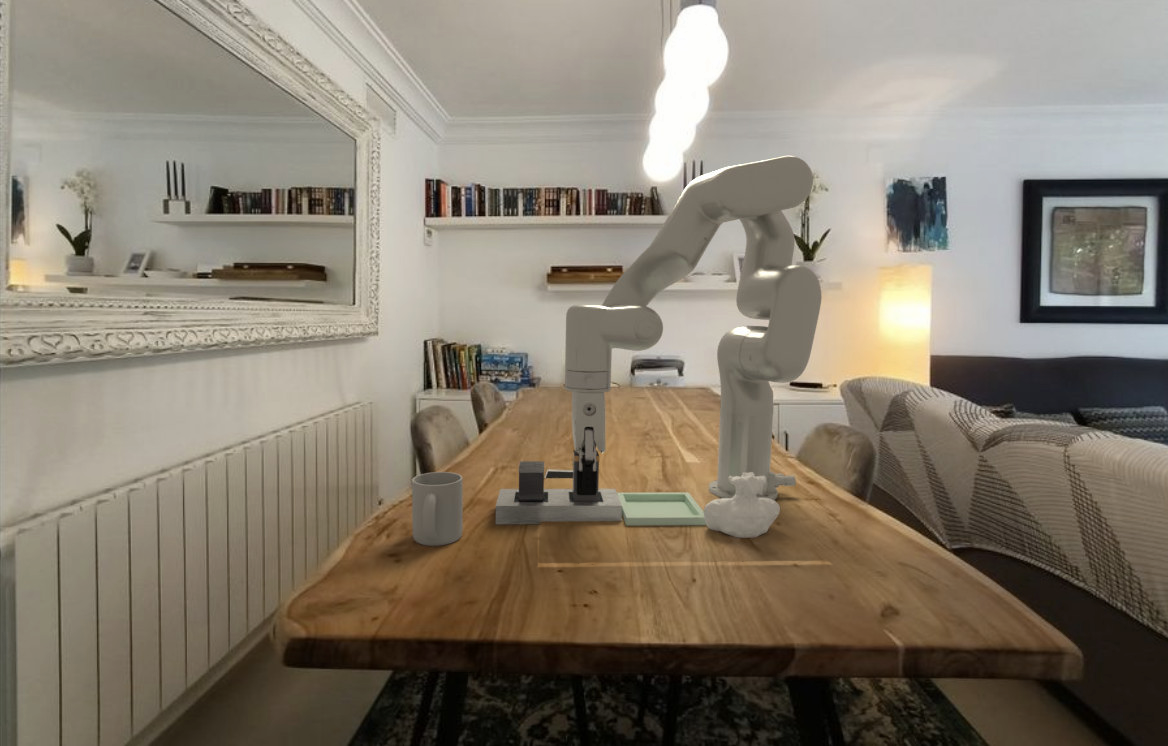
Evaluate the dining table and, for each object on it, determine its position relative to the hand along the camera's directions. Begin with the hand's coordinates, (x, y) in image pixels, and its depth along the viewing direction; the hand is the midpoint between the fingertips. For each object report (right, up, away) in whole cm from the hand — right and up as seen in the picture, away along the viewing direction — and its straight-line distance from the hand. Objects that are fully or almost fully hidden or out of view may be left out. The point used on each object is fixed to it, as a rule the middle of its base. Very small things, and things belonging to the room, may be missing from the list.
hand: (585, 489), depth 98 cm
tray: (+12, -4, +1) cm, 13 cm away
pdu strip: (-5, -4, 0) cm, 6 cm away
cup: (-22, -5, -12) cm, 26 cm away
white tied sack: (+24, -6, -8) cm, 26 cm away
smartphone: (-5, -3, +19) cm, 20 cm away
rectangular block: (0, -2, 0) cm, 2 cm away
